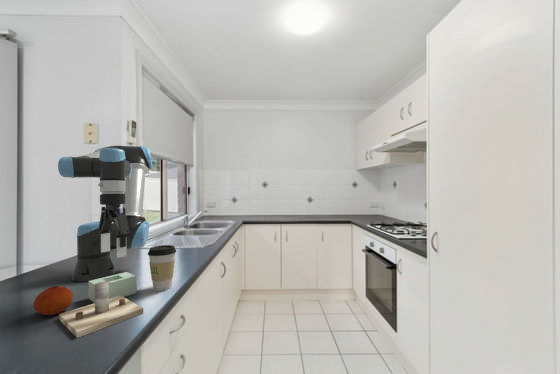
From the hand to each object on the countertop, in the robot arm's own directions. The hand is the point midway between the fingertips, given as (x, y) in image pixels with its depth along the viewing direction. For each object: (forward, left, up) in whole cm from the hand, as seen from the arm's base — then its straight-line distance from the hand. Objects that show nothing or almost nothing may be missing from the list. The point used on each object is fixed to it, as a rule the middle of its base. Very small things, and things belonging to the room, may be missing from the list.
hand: (113, 254), depth 91 cm
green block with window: (0, 0, -14) cm, 14 cm away
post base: (+14, -8, -14) cm, 22 cm away
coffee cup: (+7, +14, -15) cm, 21 cm away
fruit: (-1, -16, -15) cm, 21 cm away
